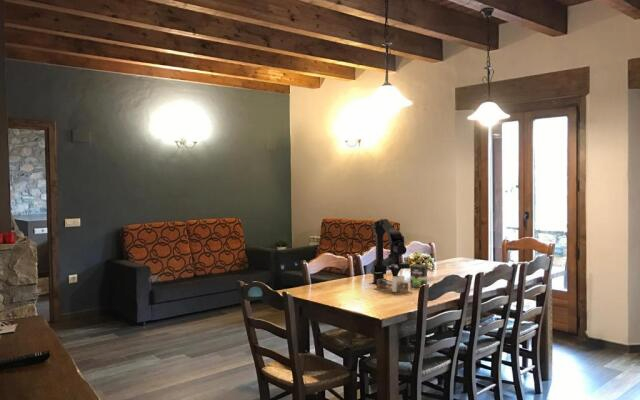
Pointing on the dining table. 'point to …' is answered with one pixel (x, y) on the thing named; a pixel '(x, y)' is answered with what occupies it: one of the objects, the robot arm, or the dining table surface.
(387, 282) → the pipe
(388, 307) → the dining table surface
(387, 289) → the wall mounted rod holder
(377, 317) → the dining table surface
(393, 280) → the collar
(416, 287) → the coffee can
